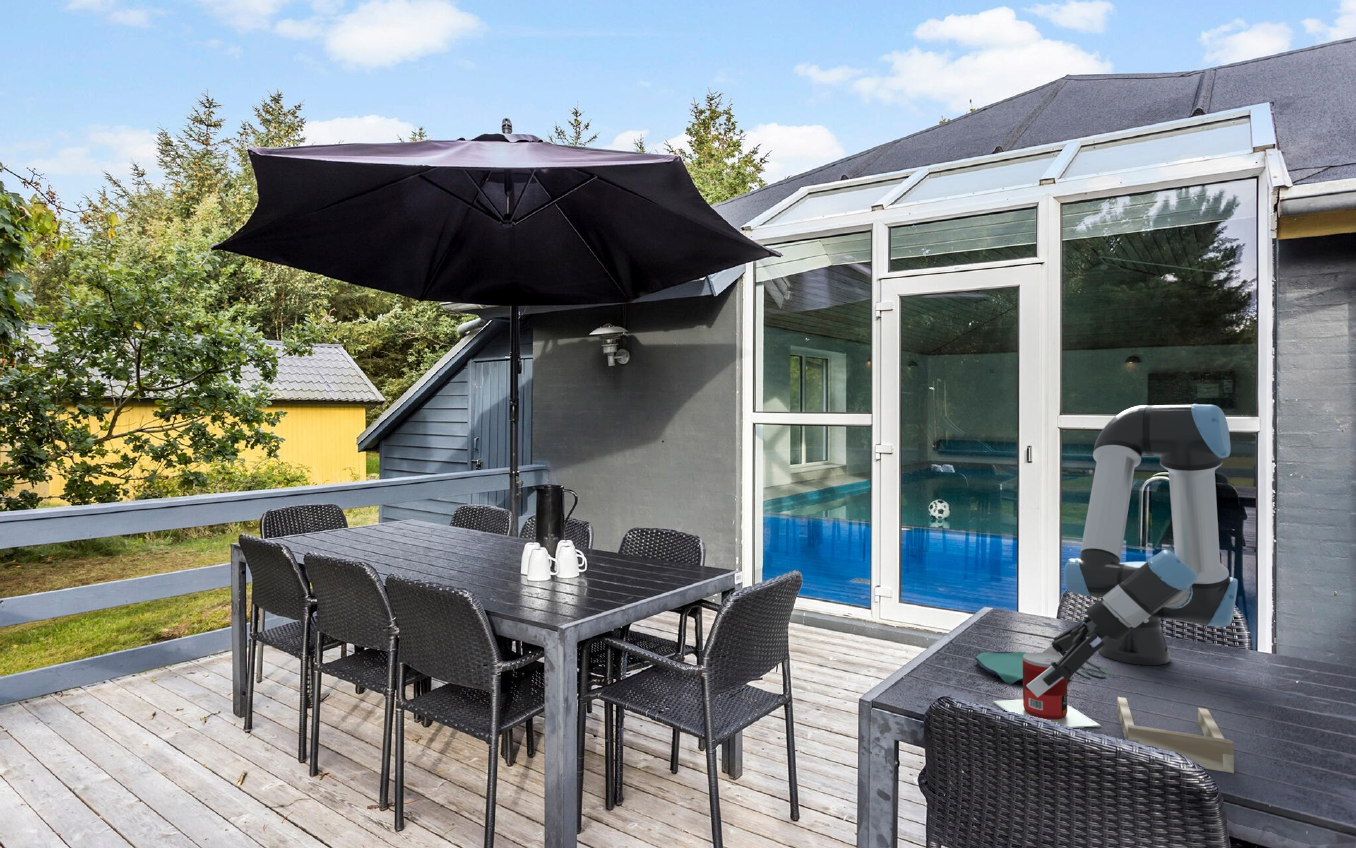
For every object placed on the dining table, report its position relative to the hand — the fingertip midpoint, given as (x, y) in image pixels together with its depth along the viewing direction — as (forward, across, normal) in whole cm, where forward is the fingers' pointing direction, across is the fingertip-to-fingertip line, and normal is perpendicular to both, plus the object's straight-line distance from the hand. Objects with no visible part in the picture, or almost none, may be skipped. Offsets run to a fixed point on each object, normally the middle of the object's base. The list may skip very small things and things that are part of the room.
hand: (1031, 680), depth 147 cm
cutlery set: (+4, +28, -7) cm, 29 cm away
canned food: (+3, 0, -6) cm, 7 cm away
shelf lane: (-12, -2, -21) cm, 24 cm away
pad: (+3, 0, -6) cm, 7 cm away
